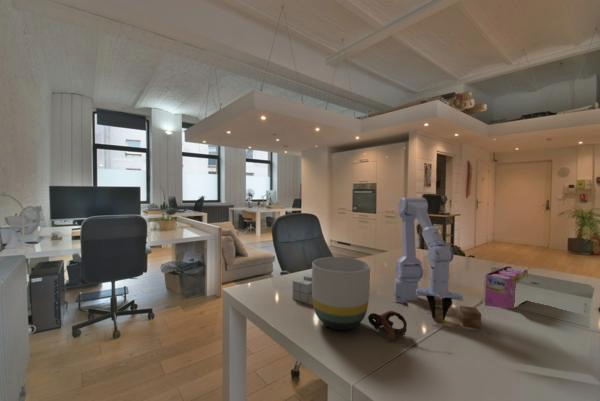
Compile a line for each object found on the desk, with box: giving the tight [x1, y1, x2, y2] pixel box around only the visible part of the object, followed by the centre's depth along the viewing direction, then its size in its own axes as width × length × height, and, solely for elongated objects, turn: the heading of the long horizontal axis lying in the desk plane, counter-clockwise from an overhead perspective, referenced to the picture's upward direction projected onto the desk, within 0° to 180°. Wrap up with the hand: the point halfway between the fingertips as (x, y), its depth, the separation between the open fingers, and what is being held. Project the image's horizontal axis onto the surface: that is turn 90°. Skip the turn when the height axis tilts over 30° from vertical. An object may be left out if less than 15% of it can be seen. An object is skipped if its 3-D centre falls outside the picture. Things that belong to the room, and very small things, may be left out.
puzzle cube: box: [292, 273, 313, 306], centre depth 117 cm, size 12×12×8 cm
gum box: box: [484, 266, 529, 311], centre depth 115 cm, size 24×8×14 cm, turn 124°
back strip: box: [434, 297, 460, 317], centre depth 103 cm, size 14×8×5 cm, turn 73°
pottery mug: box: [367, 310, 408, 342], centre depth 88 cm, size 12×10×8 cm
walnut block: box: [458, 305, 482, 330], centre depth 93 cm, size 5×5×5 cm
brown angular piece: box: [433, 306, 483, 332], centre depth 94 cm, size 14×8×5 cm, turn 73°
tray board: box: [422, 302, 491, 335], centre depth 98 cm, size 17×20×2 cm
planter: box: [311, 256, 371, 331], centre depth 93 cm, size 20×20×21 cm
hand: (437, 317), depth 96 cm, fingers closed on brown angular piece, 2 cm apart
